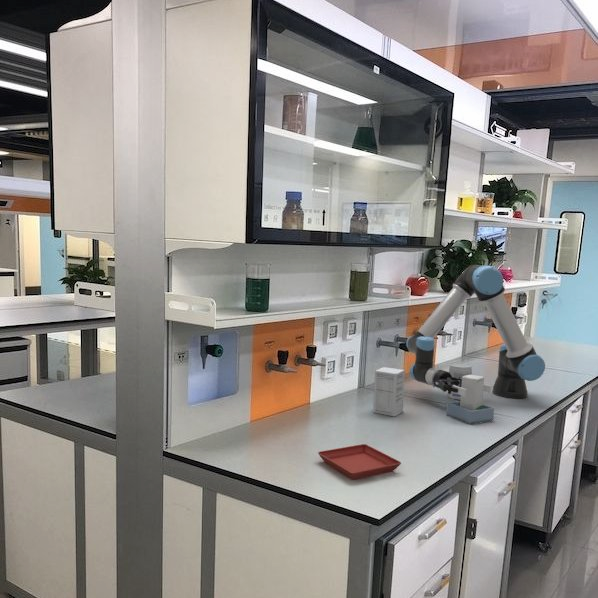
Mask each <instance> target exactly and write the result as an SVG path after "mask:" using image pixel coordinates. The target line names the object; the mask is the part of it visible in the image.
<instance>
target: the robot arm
mask: <svg viewBox="0 0 598 598" xmlns="http://www.w3.org/2000/svg"><path fill="white" fill-rule="evenodd" d="M505 291H506V289H505V286H504V277H503V274H502V272H500V270H499V269H498V268H496V267H495V266H492V265H485V264H484V265H481V264H473V265H470V266H468V267H467V268H465V269H464V270H463V272H462V273H461V274H459V276H458V277H457V279H456V280H455V281H454V282H453V283H452V289H451V290H450V291H449V292H448V293H447V295H446V296H445V297H444V298H443V299H442V301H441V302H440V303H439V305H437V306H436V308H435V309H434V310H433V312H432V313H431V314H430V316H428V317H427V319H426V320H425V321H424V323H423V324H422V325H421V326H420V328H419V329H418V330H417V331H416V333H414V335H410V336H409V337H408V338H407V340H406V342H405V343H406V348H407V349H408V350H409V351H410V352H411V353H412V354H414V355H415V361H414V362H413V363H412V364H411V365H410V368H409V371H408V372H409V373H408V374H409V376H410V377H411V378H412V380H415V381H417V382H419V383H422V384H426V385H429V386H432V388H437V389H440V390H441V391H442V392H444V393H446V392H447V394H448V393H449V394H451V391H452V392H453V393H456V394H459V395H462V396H466V389H464V388H461V384H462V378H461V377H459V378H456V377H452V376H451V374H450V373H449V371H447V370H443V369H441V368H436V367H434V359H435V358H434V354H435V347H436V346H435V337H436V336H437V335H438V334H439V333H440V331H441V330H442V329H443V328H444V326H445V325H446V324H447V323H448V321H449V320H450V319H451V318H452V316H454V314H455V313H456V312H457V311H458V309H459V308H460V307H461V306H462V305H463V303H465V301H466V299H470V298H471V297H472V296H473V295H475V296H476V297H477V300H478V302H480V303H483V304H484V305H485V308H486V310H487V312H488V313H489V314H488V315H490V317H491V320H492V322H493V323H494V326H495V328H496V330H497V332H498V334H499V335H500V338H501V340H502V342H503V344H501V345H500V347H499V351H498V353H499V355H498V366H497V367H498V368H497V369H498V370H497V377H496V380H495V382H494V384H493V386H492V385H490V384H485V383H484V389H483V392H485V393H488V394H492V393H493V394H494V395H496V396H500V397H502V396H503V398H509V399H510V398H511V399H525V398H528V391H529V390H527V385H526V381H528V382H532V381H533V382H534V381H537V380H538V379H540V378H541V377H542V376H543V375H544V373H545V370H546V363H545V360H544V359H543V358H542V357H541V356H540V355H539V354H537V352H536V349H535V348H534V345H533V344H531V343H529V342H527V340H526V338H525V335H524V334H523V332H522V329H521V328H520V326H519V324H518V322H517V319H516V318H515V316H514V314H513V311H512V310H511V307H510V305H509V303H508V301H507V299H506V296H505V295H504V293H505ZM459 384H460V385H459Z"/></svg>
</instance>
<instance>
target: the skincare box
mask: <svg viewBox="0 0 598 598" xmlns="http://www.w3.org/2000/svg"><path fill="white" fill-rule="evenodd" d="M484 384H485V376H482V375H476V374H475V375H474V374H472V375H465V376H463V377H462V384H461V388H464V389H466V396H462V395H461V400H459V401H460V407H462V408H465V409H467V410H470V411H473V410H480V409H482V405H483V402H484V401H483V400H484V391H483V389H484Z"/></svg>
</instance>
